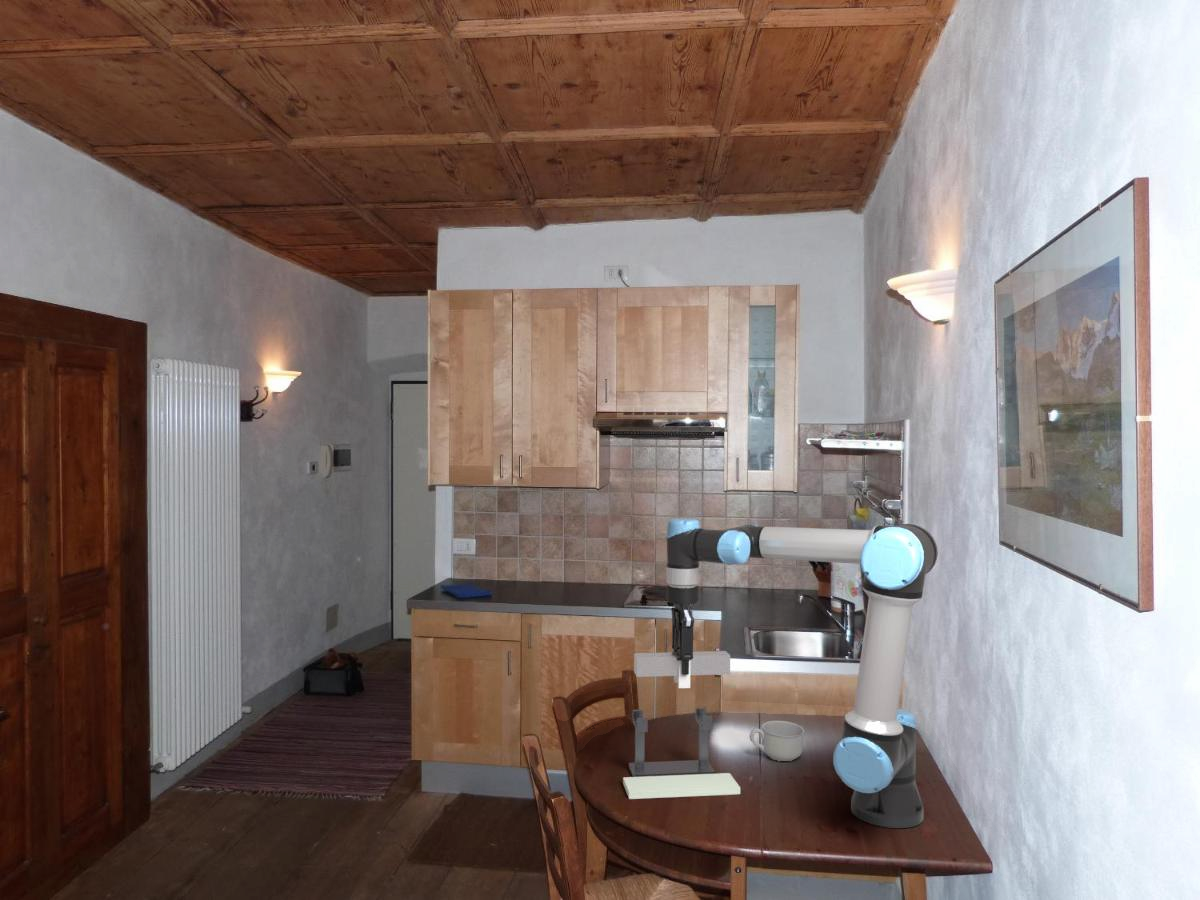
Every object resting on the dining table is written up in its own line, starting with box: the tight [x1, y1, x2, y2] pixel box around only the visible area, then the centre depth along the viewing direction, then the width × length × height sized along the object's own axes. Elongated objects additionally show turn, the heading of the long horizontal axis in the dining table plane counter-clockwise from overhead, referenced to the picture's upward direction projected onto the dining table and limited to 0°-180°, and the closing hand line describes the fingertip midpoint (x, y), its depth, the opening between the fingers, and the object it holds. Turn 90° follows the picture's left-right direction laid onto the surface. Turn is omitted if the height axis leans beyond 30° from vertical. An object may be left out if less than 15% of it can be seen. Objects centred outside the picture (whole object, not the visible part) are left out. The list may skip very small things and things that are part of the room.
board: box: [622, 772, 741, 800], centre depth 207 cm, size 9×26×2 cm, turn 97°
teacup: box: [749, 720, 805, 762], centre depth 228 cm, size 14×11×8 cm
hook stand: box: [628, 707, 717, 777], centre depth 218 cm, size 8×20×14 cm, turn 97°
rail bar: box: [633, 650, 731, 678], centre depth 207 cm, size 4×22×4 cm, turn 97°
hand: (681, 684), depth 207 cm, fingers closed on rail bar, 4 cm apart
